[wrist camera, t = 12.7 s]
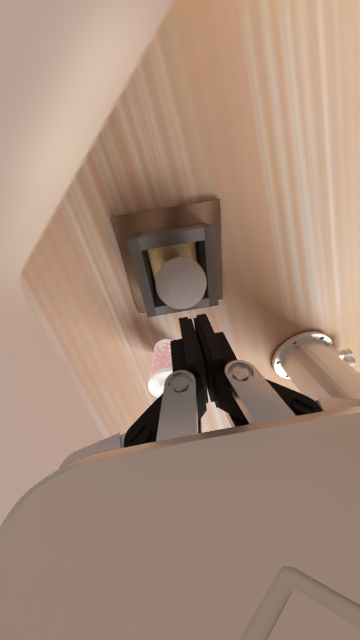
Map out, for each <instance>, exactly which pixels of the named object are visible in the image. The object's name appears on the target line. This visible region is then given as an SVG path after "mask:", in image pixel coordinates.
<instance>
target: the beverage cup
mask: <svg viewBox="0 0 360 640" xmlns="http://www.w3.org/2000/svg"><path fill="white" fill-rule="evenodd" d="M170 341H173V340H171V339H163V340H160V341H158V342H157V343H156V345H155V347H154V354H153V362H152V369H151V376H150V378H149V380H148V381H149V382H148V389H149V391H150V392H151V394H152V395H154V396H156V397H158V398H159V396H160V395H161V394H162V393H163V390H164V383H165V380H166V378H167V377H168V376H169V375H170V374H171V373H173V370H172V359H171V347H170Z"/></svg>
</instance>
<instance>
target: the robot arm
mask: <svg viewBox="0 0 360 640" xmlns="http://www.w3.org/2000/svg"><path fill="white" fill-rule="evenodd" d="M179 322H180V328H181V334H182V339H179V340H173V341H170V347H171V359H172V370H173V373H171V374H170V375H169V376H168V377H167V378H166V380H165V383H164V390H163V393H162V394H161V395H160V396H159V398H158V399H157V400H156V401H155V402H154V403H153V404H152V405H151V406H150V407H149V408H148V409H147V410H146V411H145V412H144V413H143V414H142V415H141V416H140V417H139V419H138V420H137V421H136V422H135V423H134V424H133V425H132V426H131V427H130V428H129V430H128V431H127V433H125V434H122V435H120V433H118V434H116V435H114V436H111V437H109V438H107V439H104V440H102V441H99V442H97V443H95V444H92V445H90V446H88V447H85V448H83V449H80V450H78V451H76V452H74V453H73V454H71V455H69V456H68V457H67V458H66V459H65V460H64V462H63V463H62V465H61V466H60V468H59V470H57V471H55V472H54V473H52V474H50V475H49V476H47V477H46V478H44V479H43V480H41V481H40V482H38V483H37V484H36V485H35V486H33V487H32V488H31V489H30V490H28V492H26V493H25V494H24V495H23V496H22V497H21V498H20V499H19V501H18V502H17V503H16V504H15V505H14V507H13V508H12V509H11V511H10V512H9V514H8V515H7V517H6V518H5V520H4V521H3V523H2V524H1V526H0V640H360V373H359V372H358V371H356V370H355V369H354V368H353V367H351V366H352V365H355V359H354V358H353V357H351V356H352V355H353V353H352V351H351V350H350V349H346V350H341V351H338V350H337V349H335V348H334V347H333V342H332V340H331V339H330V338H329V337H328V336H327V335H325V334H324V333H321V332H317V331H309V332H303V333H300V334H297V335H295V336H293V337H291V338H290V339H288V340H286V341H285V342H284V343H283V344H282V345H281V346H280V347H279V348H278V349H277V351H276V352H275V354H274V356H273V360H272V366H273V369H274V370H275V372H276V373H277V374H278V375H279V376H281V377H283V378H287V379H291V380H292V382H293V383H294V384H295V386H296V387H297V388H298V389H299V391H300V392H301V393H302V394H301V393H298V392H296V391H294V390H291V389H289V388H286V387H284V386H281V385H279V384H276V383H274V382H272V381H269V380H267V379H265V378H264V377H263V376H262V375H261V374H260V372H259V371H258V370H257V369H256V368H255V367H254V366H253V365H252V364H251V363H249V362H247V361H243V360H237V358H236V356H235V354H234V352H233V351H232V349H231V347H230V345H229V343H228V341H227V339H226V337H225V335H224V333H223V332H219V333H214V331H213V329H212V326H211V324H210V322H209V320H208V318H207V315H206V314H201V315H197V318H194V325H195V329H194V326H193V323H192V319H188V317H184V318H179ZM207 389H208V392H209V396H210V400H211V402H214V401H215V404H216V407H219V408H220V409H222V410H224V411H225V412H226V415H227V418H228V420H229V422H230V424H231V426H232V428H226V429H221V430H215V431H210V432H204V433H202V423H201V417H202V416H203V415H204V413H205V412H206V410H207V409H206V403H208V395H207Z"/></svg>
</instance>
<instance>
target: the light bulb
mask: <svg viewBox="0 0 360 640" xmlns="http://www.w3.org/2000/svg"><path fill="white" fill-rule="evenodd" d="M206 285H207V280H206V276H205V273H204V271H203V269H202V268H201V266H200V265H199V264H198V263H197V262H195V261H194V260H192V259H189V258H185V257H177V258H173V259H170V260H169V261H167V262H166V263H164V264H163V265H162V266H161V268H160V269H159V271H158V273H157V276H156V290H157V293H158V296H159V297H160V299H161V300H162V301H163V302H164V303H165V304H167V305H168V306H170V307H172V308H175V309H187V308H190V307H192V306H194V305H196V304H197V303H198V302H199V301H200V300H201V299H202V297H203V296H204V293H205V290H206Z"/></svg>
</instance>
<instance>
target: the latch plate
mask: <svg viewBox="0 0 360 640" xmlns="http://www.w3.org/2000/svg"><path fill="white" fill-rule="evenodd" d="M148 253H149V257H150V262H151V266H152V271H153V275H154V280H155V284H156V276H157V273H158V271H159V269H160V268H161V266H162V265H163V264H164V263H166V262H167V261H169V260H170V259H173V258H177V257H185V258H189V259H192V260H194V261H195V262H197V256H196V245H195V242H190V243H184V244H178V245H172V246H166V247H160V248H154V249H148Z"/></svg>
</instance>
